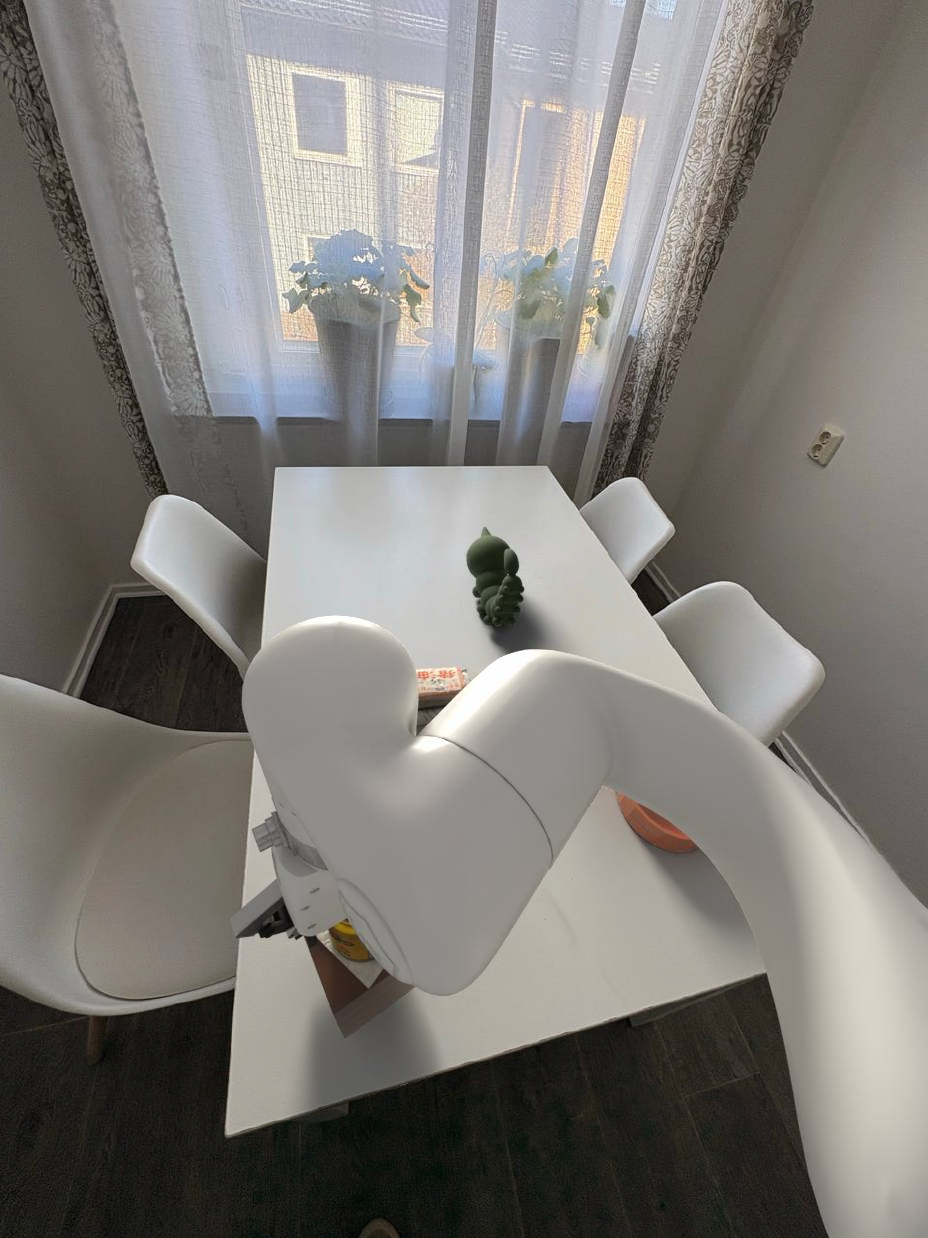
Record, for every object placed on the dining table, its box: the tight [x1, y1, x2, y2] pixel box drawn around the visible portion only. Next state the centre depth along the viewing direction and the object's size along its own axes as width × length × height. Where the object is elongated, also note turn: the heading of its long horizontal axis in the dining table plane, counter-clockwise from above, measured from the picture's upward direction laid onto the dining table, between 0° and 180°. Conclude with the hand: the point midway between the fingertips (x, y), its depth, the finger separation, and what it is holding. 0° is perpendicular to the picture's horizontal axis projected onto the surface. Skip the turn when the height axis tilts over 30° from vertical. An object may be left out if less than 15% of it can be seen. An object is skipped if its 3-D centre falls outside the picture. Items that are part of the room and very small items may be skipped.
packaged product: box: [415, 666, 471, 726], centre depth 84 cm, size 18×5×10 cm
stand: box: [303, 936, 416, 1039], centre depth 53 cm, size 10×10×16 cm
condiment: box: [316, 918, 383, 989], centre depth 44 cm, size 7×8×12 cm
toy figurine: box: [465, 526, 525, 627], centre depth 99 cm, size 9×19×25 cm
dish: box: [616, 792, 700, 853], centre depth 75 cm, size 14×14×4 cm
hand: (359, 894), depth 42 cm, fingers open, 8 cm apart
